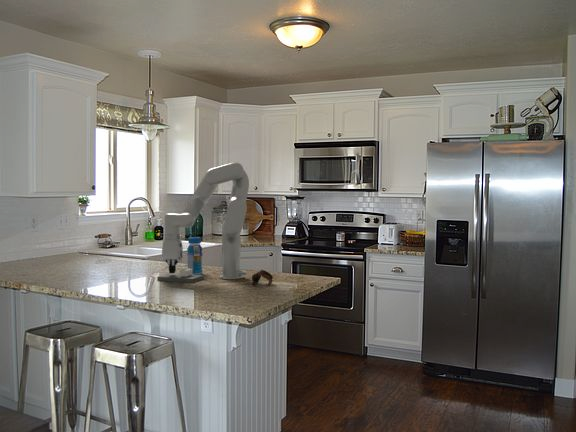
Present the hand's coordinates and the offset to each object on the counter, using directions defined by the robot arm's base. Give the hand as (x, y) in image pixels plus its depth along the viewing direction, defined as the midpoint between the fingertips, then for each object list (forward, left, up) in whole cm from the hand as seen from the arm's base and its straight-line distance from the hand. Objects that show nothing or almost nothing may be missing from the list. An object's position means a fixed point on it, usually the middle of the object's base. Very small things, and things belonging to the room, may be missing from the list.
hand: (172, 272), depth 268 cm
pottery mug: (-49, 0, -4) cm, 49 cm away
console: (-5, 0, -3) cm, 6 cm away
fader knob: (-8, 0, -1) cm, 8 cm away
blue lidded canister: (-3, -19, -4) cm, 20 cm away
